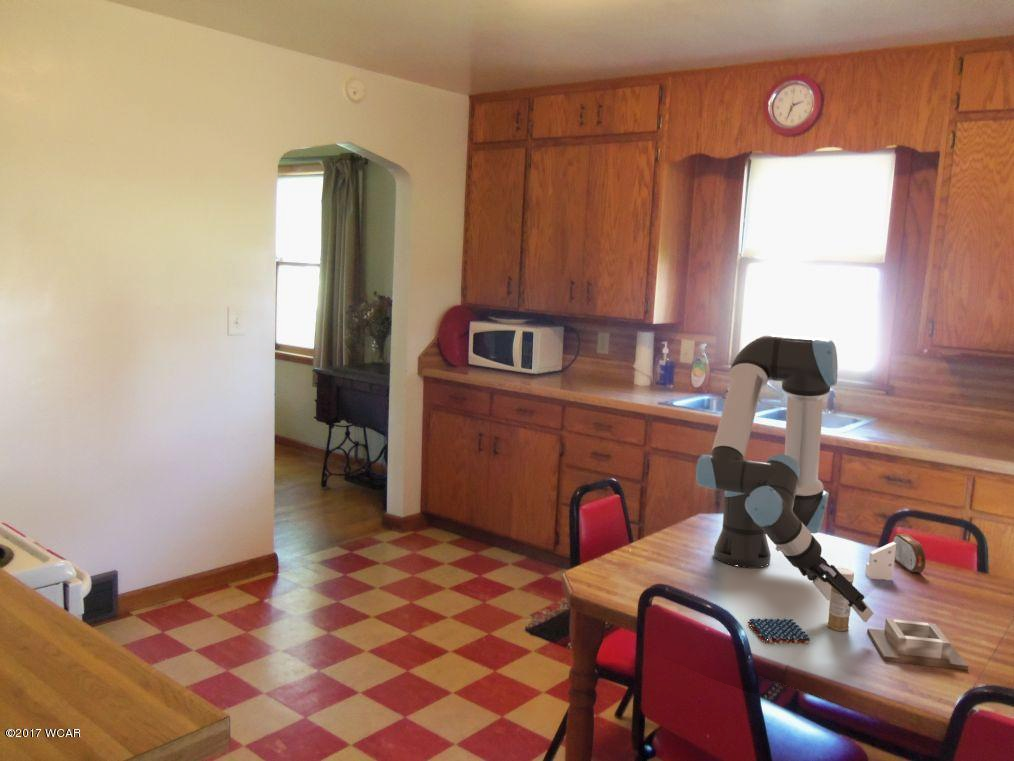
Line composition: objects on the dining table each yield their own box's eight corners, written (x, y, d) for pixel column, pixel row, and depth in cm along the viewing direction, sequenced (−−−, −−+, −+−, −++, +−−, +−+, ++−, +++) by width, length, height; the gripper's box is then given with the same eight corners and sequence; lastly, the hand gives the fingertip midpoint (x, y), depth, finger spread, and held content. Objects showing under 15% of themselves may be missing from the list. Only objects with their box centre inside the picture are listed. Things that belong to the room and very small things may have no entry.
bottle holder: (883, 660, 170) (886, 640, 169) (867, 632, 184) (869, 613, 183) (967, 670, 167) (970, 649, 167) (944, 641, 181) (946, 621, 180)
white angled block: (910, 572, 217) (896, 543, 216) (874, 588, 218) (860, 559, 218) (905, 567, 221) (891, 539, 220) (869, 583, 222) (855, 555, 221)
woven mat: (745, 625, 186) (746, 616, 186) (791, 626, 187) (792, 617, 187) (762, 646, 176) (763, 637, 176) (810, 646, 177) (811, 637, 176)
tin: (925, 577, 221) (928, 546, 220) (913, 576, 221) (916, 546, 220) (899, 558, 236) (902, 529, 235) (888, 557, 236) (891, 529, 235)
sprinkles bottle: (837, 622, 189) (842, 565, 187) (853, 630, 185) (859, 572, 183) (822, 625, 187) (827, 568, 185) (838, 633, 183) (844, 575, 181)
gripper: (754, 539, 190) (805, 598, 197) (821, 576, 168) (876, 641, 174) (776, 516, 191) (826, 575, 198) (845, 549, 169) (899, 615, 175)
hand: (849, 606), depth 186 cm, fingers open, 11 cm apart
